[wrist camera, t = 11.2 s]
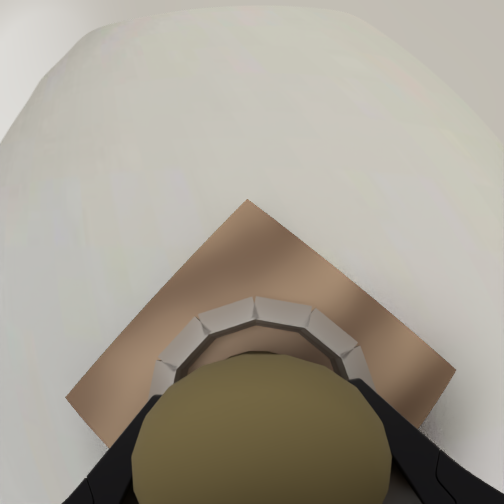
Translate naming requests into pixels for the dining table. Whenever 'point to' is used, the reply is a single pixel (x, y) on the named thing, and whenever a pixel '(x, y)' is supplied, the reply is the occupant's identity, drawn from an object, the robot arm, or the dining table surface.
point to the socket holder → (258, 327)
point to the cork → (261, 437)
